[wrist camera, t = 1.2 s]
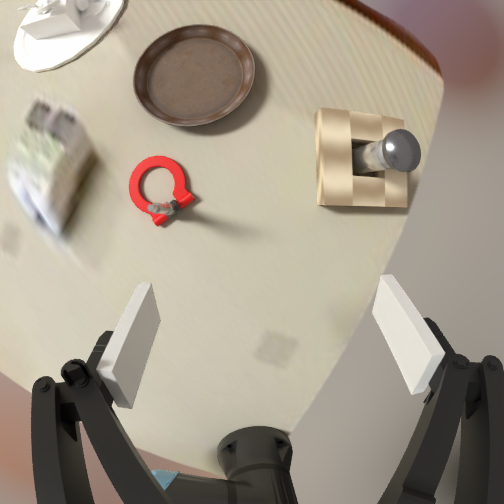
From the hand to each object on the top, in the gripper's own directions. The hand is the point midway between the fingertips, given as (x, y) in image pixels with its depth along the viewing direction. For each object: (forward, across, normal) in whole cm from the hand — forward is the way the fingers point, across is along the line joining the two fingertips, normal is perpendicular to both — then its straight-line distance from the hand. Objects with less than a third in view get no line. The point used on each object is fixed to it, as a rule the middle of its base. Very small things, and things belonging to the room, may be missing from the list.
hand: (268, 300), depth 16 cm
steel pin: (+31, -16, -3) cm, 35 cm away
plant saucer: (+33, +9, -16) cm, 38 cm away
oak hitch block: (+31, -16, -3) cm, 35 cm away
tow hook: (+27, +14, 0) cm, 31 cm away
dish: (+36, +34, -35) cm, 61 cm away
